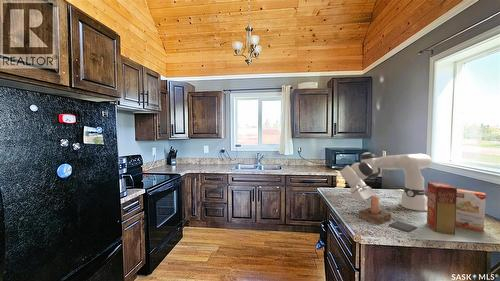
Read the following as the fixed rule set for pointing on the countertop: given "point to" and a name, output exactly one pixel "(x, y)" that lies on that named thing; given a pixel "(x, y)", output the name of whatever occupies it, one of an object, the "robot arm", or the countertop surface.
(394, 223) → the rubber mat
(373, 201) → the peg
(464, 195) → the cracker box
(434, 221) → the food packaging
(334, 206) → the countertop surface
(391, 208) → the countertop surface
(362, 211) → the pocket block
